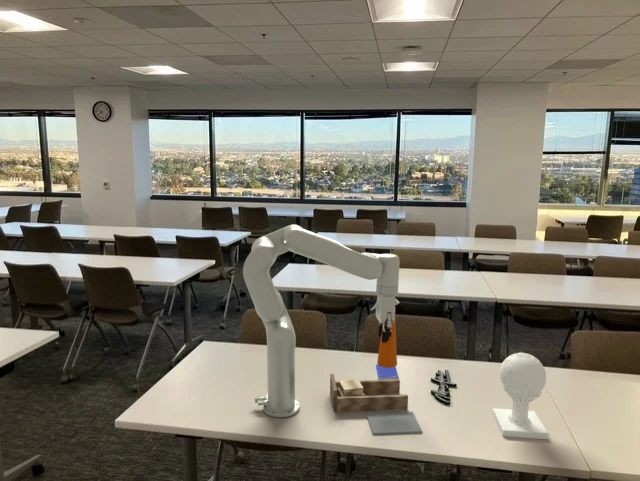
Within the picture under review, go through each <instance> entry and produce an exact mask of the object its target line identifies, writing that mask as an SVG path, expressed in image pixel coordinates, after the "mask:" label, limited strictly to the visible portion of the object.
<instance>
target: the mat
mask: <svg viewBox="0 0 640 481" xmlns="http://www.w3.org/2000/svg"><path fill="white" fill-rule="evenodd" d="M365 414H366V418H367V421H368V424H369V427H370V430H371V433H372V434H371V435H373V436H376V435H377V436H378V435H401V434H402V435H403V434H423V429H422V428H421V425H420V423H419V421H418V420H417V418H416V416H415V414H414V412H413V411H395V412H394V411H393V412H388V411H387V412H369V413H368V412H366V413H365Z"/></svg>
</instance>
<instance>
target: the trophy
mask: <svg viewBox="0 0 640 481" xmlns="http://www.w3.org/2000/svg"><path fill="white" fill-rule="evenodd" d="M499 377H500V378H499V379H500V381H501V383H502V389H503V390H504V391H505V393H506V394H507V395H508V396H509V397H510V399H511V400H512V406H511V407H512V408H511V409H510V408H508V409H507V408H496V407H495V408H492V415H493V418H494V420H495V422H496V425H497V427H498V429H499V431H500V433H501V436H502V437H509V438H523V439H537V440H538V439H539V440H549V432H548V430H547V428H546V427H545V426H544V424H543V423H542V420H541V419H540V417H539V416H538V414H537V413H536V411H535V410H529V406H530V403H531V402H533V401H535V400H537V398H540V397H541V395H542V394H543V392H542V390H543V389H544V388H545V386H546V381H547V373H546V370H545V367H544V366H543V363H542V362H541V361H540V360H539V359H538V358H537V357H535V356H534V355H532V354H530V353H525V352H517V353H516V352H515V353H512V354H510V355H509V356H507V357H505V359H504V360H503V362H502V363H501V365H500V368H499Z"/></svg>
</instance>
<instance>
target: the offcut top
mask: <svg viewBox="0 0 640 481" xmlns="http://www.w3.org/2000/svg"><path fill="white" fill-rule="evenodd" d="M338 381H339V388H340V390H341V392H342V393H343V395H344V396H353V395H362V394H363V386H362V385H361V383H360V382H359V381H360V380H359V379H358V378H355V379H347V380H345V379H344V380H338Z"/></svg>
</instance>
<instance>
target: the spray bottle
mask: <svg viewBox="0 0 640 481" xmlns="http://www.w3.org/2000/svg"><path fill="white" fill-rule="evenodd" d="M374 292H375V295H376V296H377V295H378V294H377V293H376V290H375V291H374ZM377 299H378V297H377V298H376V302H375V304H374V305H373V306H372V308H371V309H370V311H373V310H376V307H377V305H378V300H377ZM399 304H400V301H399V300H398V299H397V298H396V297H395V306H397V305H399ZM391 321H393V320H392V318H391ZM385 323H387V321H385ZM386 326H387V325H385V327H386ZM396 326H397V324H396V318H395V319H394V323H393V324H392V328H391V337H390V336H389V341H387V343H383V342H382V334H381V337H380V341H379V348H378V354H377V361H376V363H377V364H378V365H379V366H381V367H384V368H393V367H395V366H396V367H397V366H398V358H397V357H398V356H397V353H398V352H397V329H396V328H397V327H396ZM382 331H383V327H382ZM377 364H376V365H377Z"/></svg>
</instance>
